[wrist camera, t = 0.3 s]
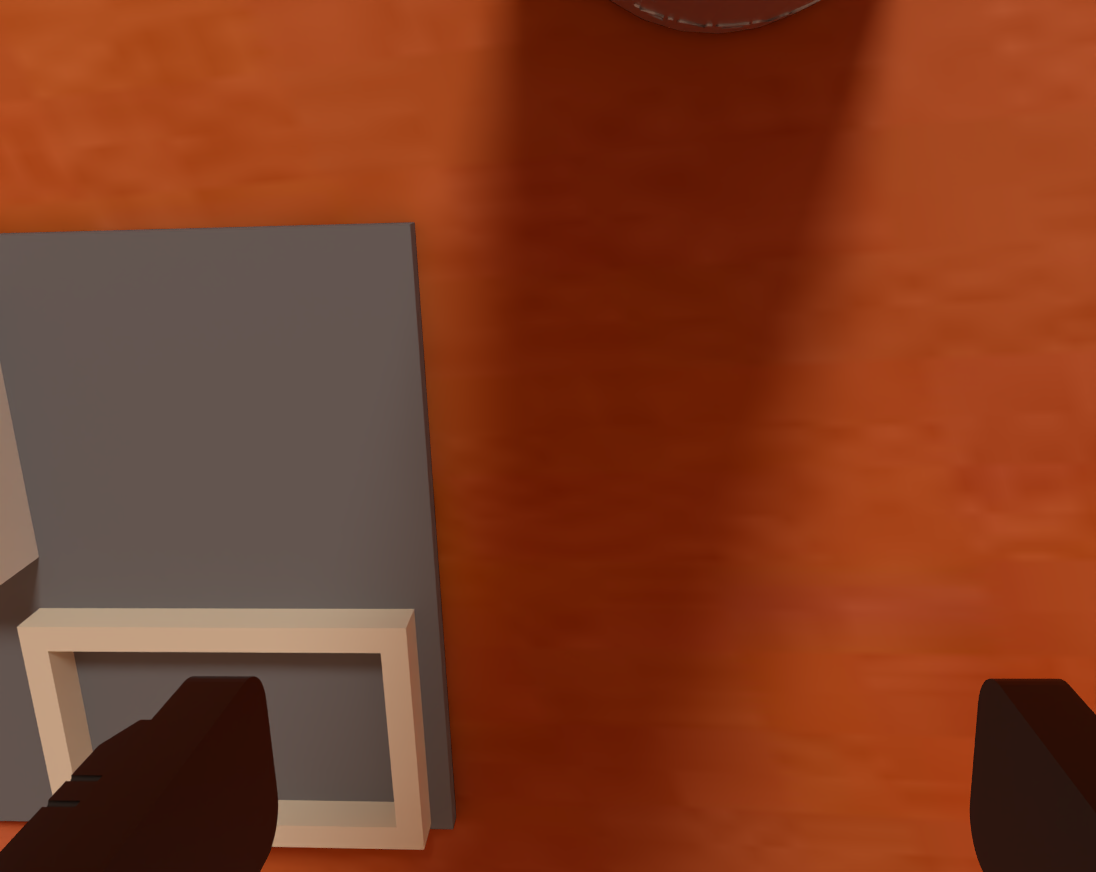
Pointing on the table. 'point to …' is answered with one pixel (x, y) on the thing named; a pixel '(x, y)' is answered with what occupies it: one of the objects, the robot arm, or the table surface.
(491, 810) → the table surface
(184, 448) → the mat
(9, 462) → the tile
